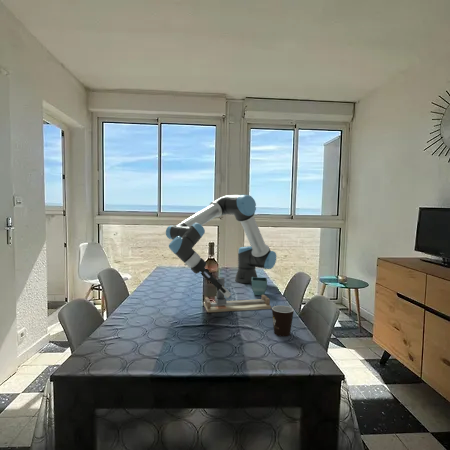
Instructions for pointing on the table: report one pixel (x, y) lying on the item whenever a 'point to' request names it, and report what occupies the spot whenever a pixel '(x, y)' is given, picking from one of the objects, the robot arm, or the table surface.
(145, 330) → the table surface
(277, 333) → the coffee mug
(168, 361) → the table surface
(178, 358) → the table surface
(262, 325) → the table surface
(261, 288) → the flower pot
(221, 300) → the carriage
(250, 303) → the rail
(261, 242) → the robot arm
